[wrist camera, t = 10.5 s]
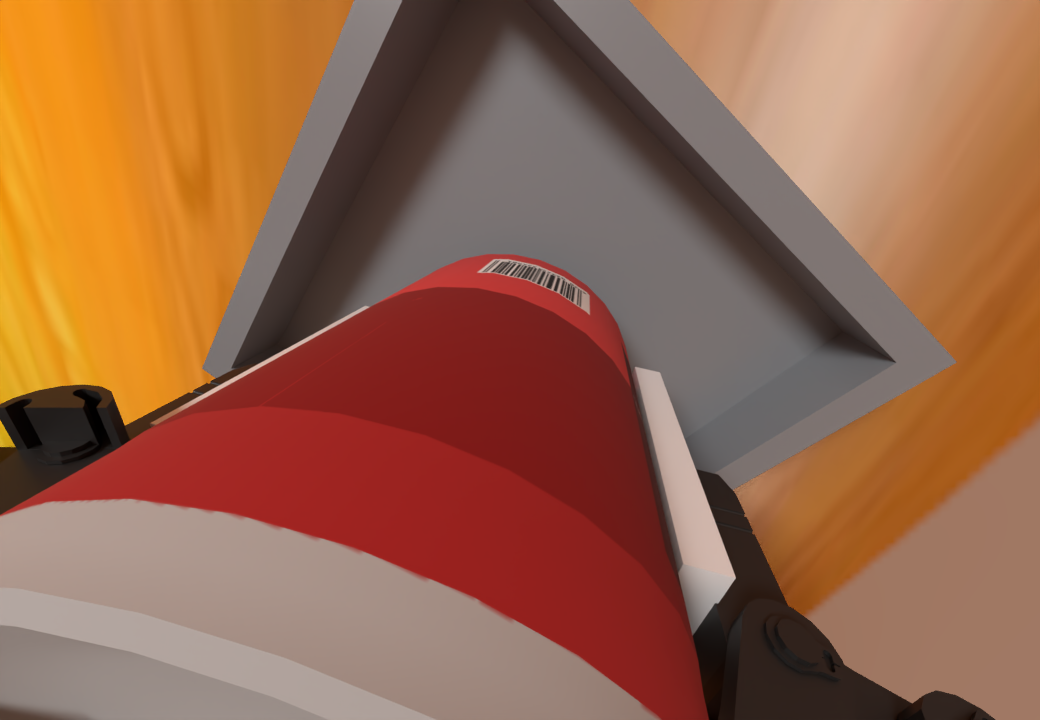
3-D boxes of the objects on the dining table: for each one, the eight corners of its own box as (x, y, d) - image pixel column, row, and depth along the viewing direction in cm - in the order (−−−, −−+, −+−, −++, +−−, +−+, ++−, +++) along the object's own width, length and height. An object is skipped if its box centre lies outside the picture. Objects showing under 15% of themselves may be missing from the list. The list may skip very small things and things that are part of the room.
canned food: (365, 295, 13) (-305, 629, 3) (585, 206, 11) (532, 455, 1) (457, 463, 16) (238, 926, 6) (650, 421, 13) (820, 1085, 4)
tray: (268, 336, 18) (201, 368, 15) (484, -92, 11) (440, -208, 7) (542, 540, 21) (534, 602, 18) (871, 320, 13) (956, 362, 10)
